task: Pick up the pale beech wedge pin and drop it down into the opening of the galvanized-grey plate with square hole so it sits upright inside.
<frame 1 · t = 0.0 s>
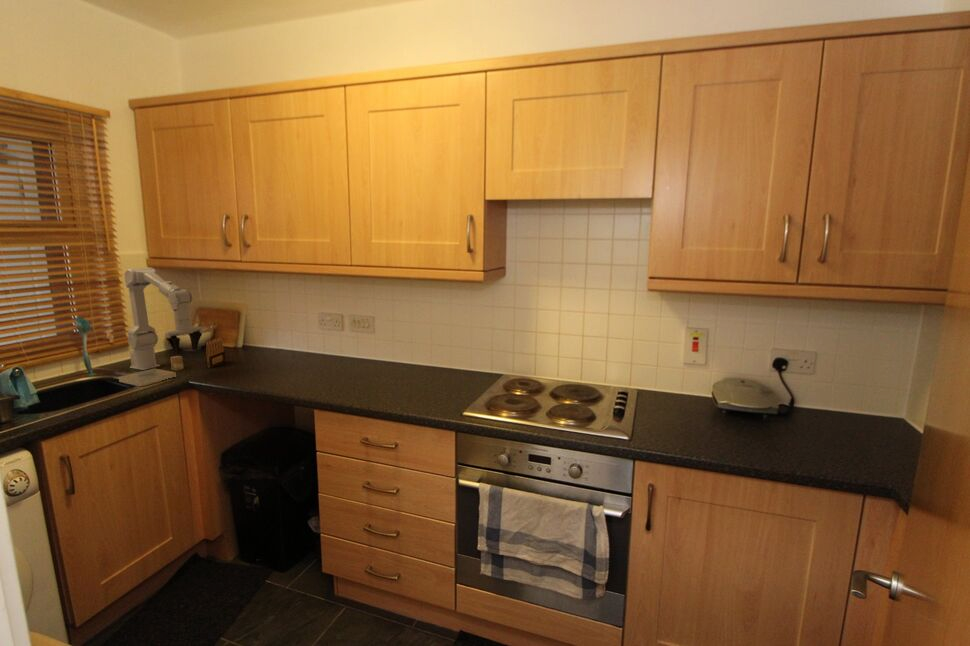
hand: (186, 351, 207), 10 cm above the worktop, fingers open, 7 cm apart
ammunition clip: (216, 365, 225), on the worktop
wedge pin: (177, 369, 217), on the worktop
plate with square hole: (148, 379, 202), on the worktop
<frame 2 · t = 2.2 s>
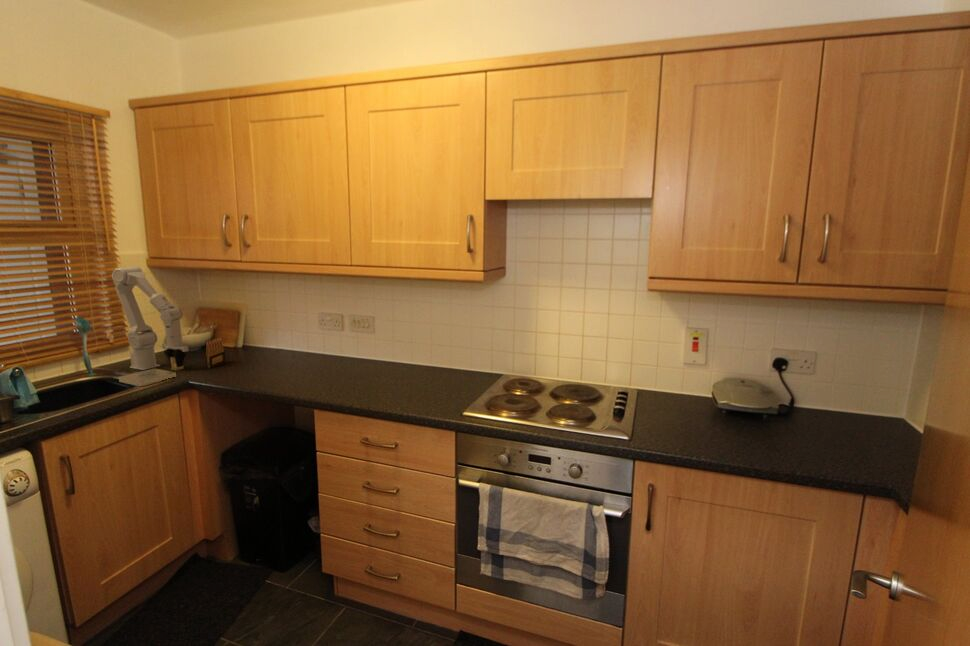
hand: (177, 365, 217), 1 cm above the worktop, fingers closed on wedge pin, 3 cm apart
wedge pin: (177, 369, 217), on the worktop, touching gripper
everything else where it was.
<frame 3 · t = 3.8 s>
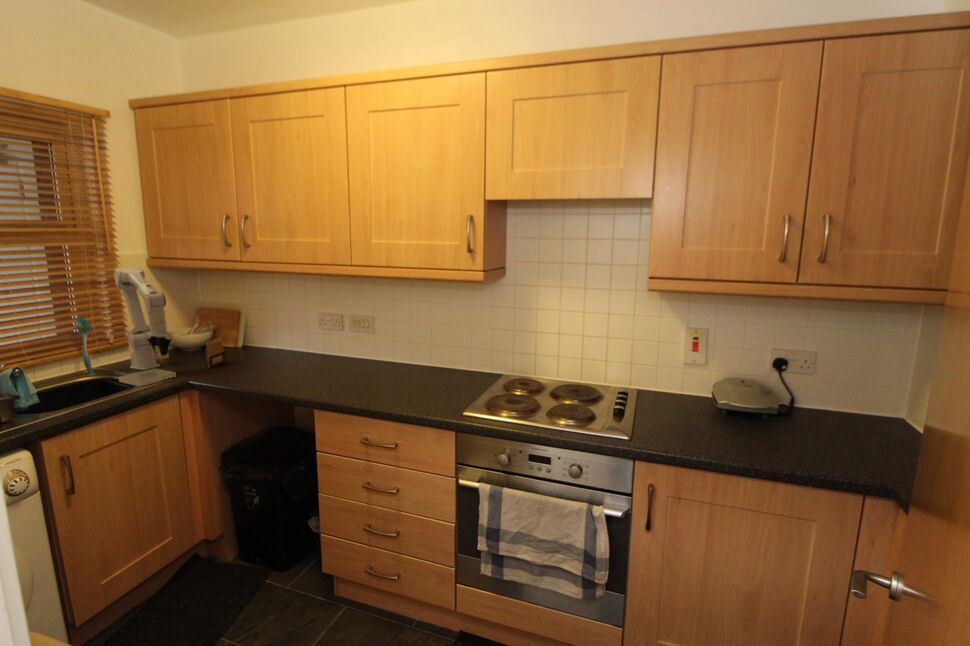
hand: (161, 354, 208), 8 cm above the worktop, fingers closed on wedge pin, 3 cm apart
wedge pin: (162, 358, 209), point 7 cm above the worktop, touching gripper
everything else where it was.
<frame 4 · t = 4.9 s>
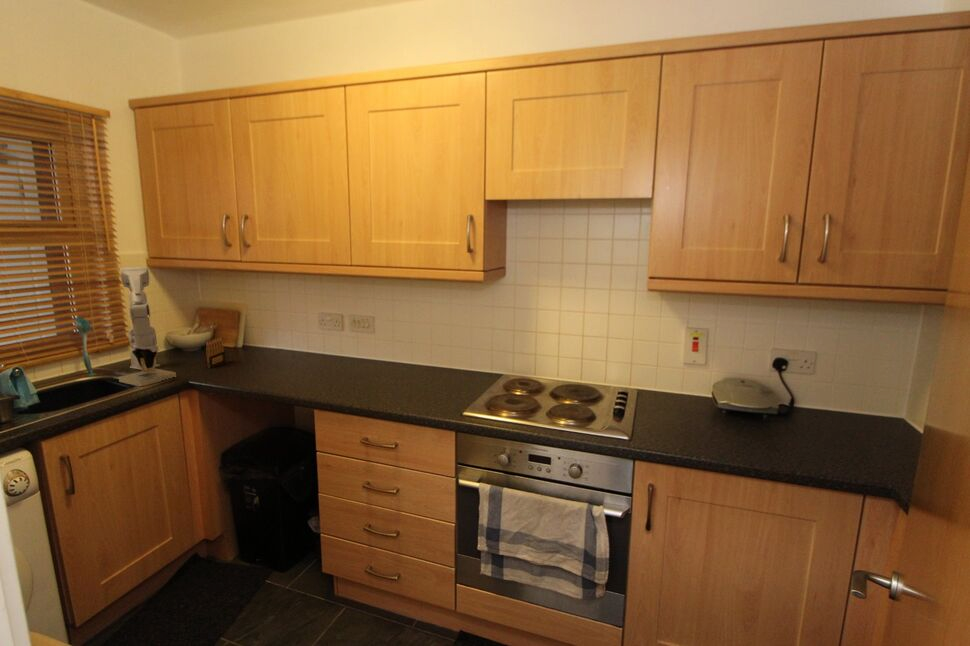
hand: (146, 367, 201), 5 cm above the worktop, fingers closed on wedge pin, 3 cm apart
wedge pin: (148, 370, 202), point 3 cm above the worktop, touching gripper
everything else where it was.
when the fingers open (3 cm above the worktop, at t = 5.9 s): wedge pin stays where it is, resting in plate with square hole.
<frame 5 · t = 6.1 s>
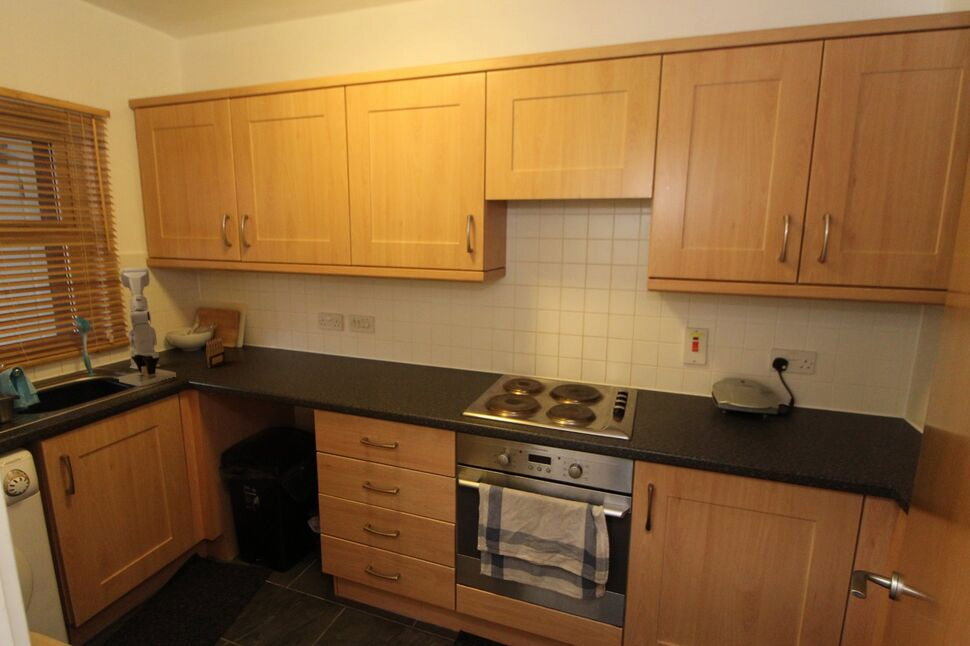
hand: (147, 373, 202), 3 cm above the worktop, fingers open, 5 cm apart
wedge pin: (149, 379, 203), resting in plate with square hole
everything else where it was.
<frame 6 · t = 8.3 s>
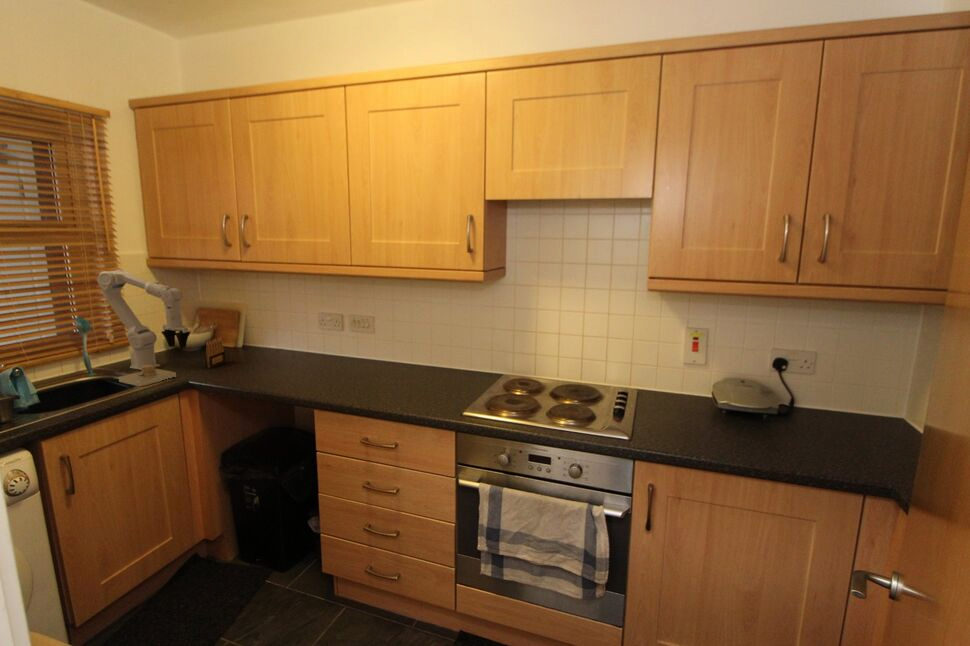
hand: (177, 347, 218), 9 cm above the worktop, fingers open, 7 cm apart
nothing on the worktop moved.
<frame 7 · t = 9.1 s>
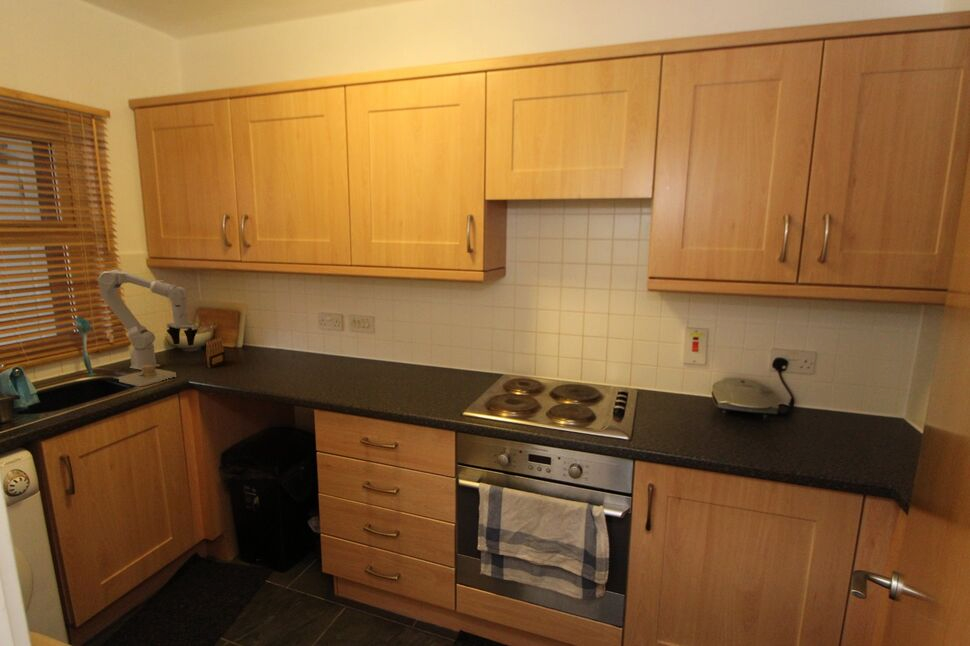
hand: (183, 344, 222), 9 cm above the worktop, fingers open, 7 cm apart
nothing on the worktop moved.
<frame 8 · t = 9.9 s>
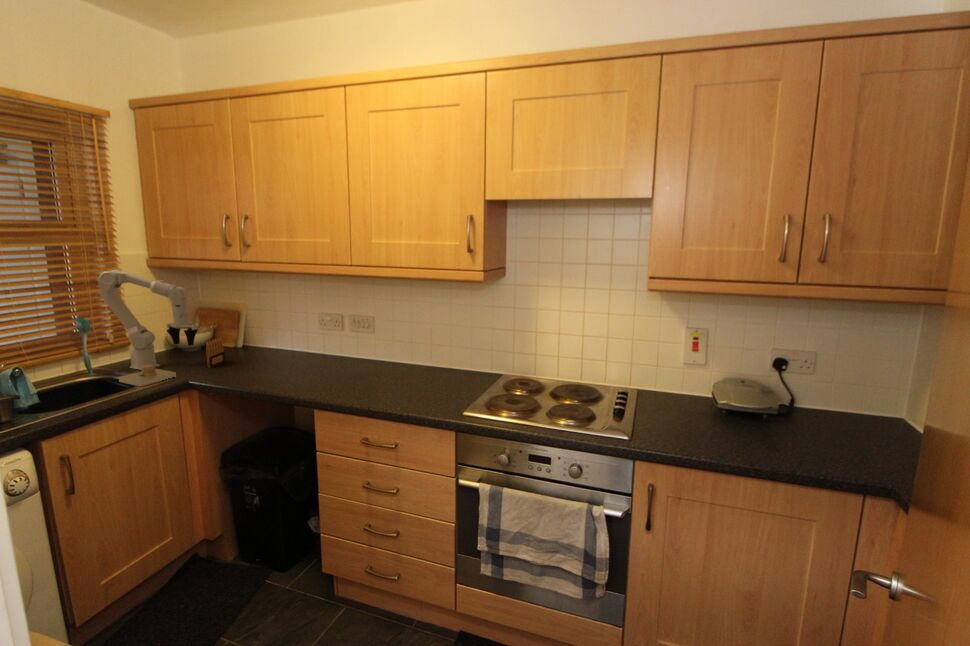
hand: (183, 344, 222), 9 cm above the worktop, fingers open, 7 cm apart
nothing on the worktop moved.
at the end: wedge pin 0.5 cm off-centre on the plate with square hole, point 0.0 cm above the plate with square hole's base; wedge pin tilted 0°; the gripper is holding nothing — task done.
